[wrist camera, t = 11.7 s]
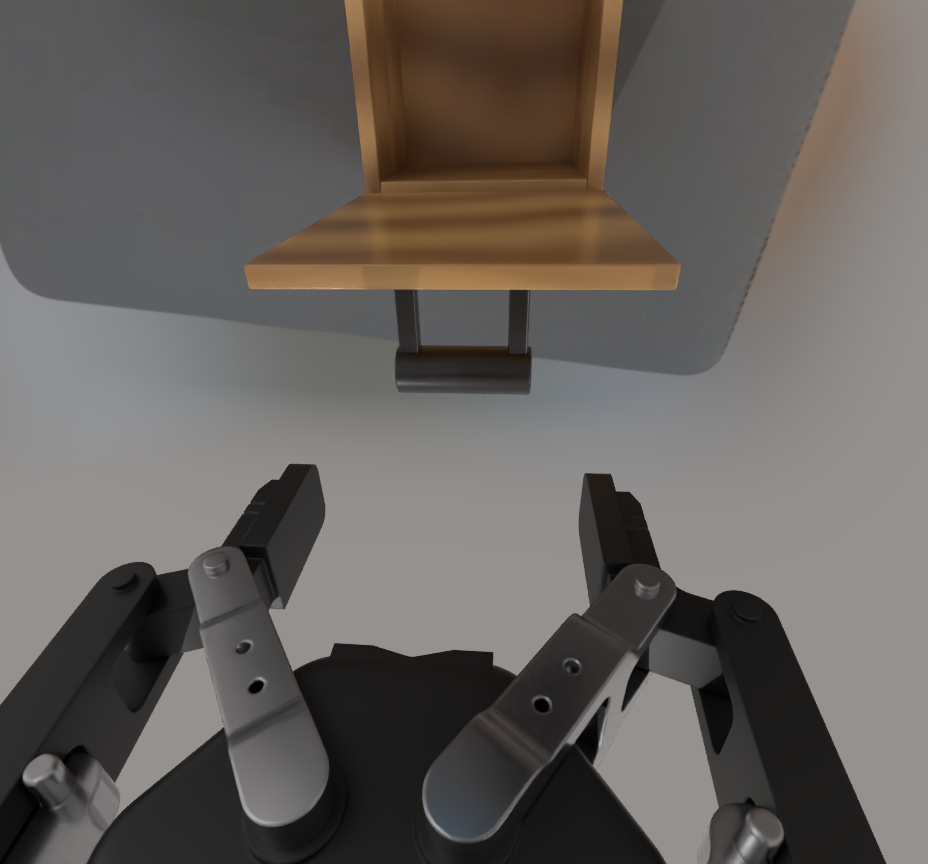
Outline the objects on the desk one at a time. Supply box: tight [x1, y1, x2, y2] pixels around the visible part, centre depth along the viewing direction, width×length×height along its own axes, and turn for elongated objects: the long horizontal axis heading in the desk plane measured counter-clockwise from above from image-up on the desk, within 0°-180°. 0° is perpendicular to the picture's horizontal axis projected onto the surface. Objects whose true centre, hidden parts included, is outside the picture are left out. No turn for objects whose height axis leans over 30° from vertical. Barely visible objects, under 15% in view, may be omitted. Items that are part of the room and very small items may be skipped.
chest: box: [345, 0, 623, 193], centre depth 30 cm, size 15×13×10 cm
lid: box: [244, 190, 681, 395], centre depth 24 cm, size 16×13×5 cm
